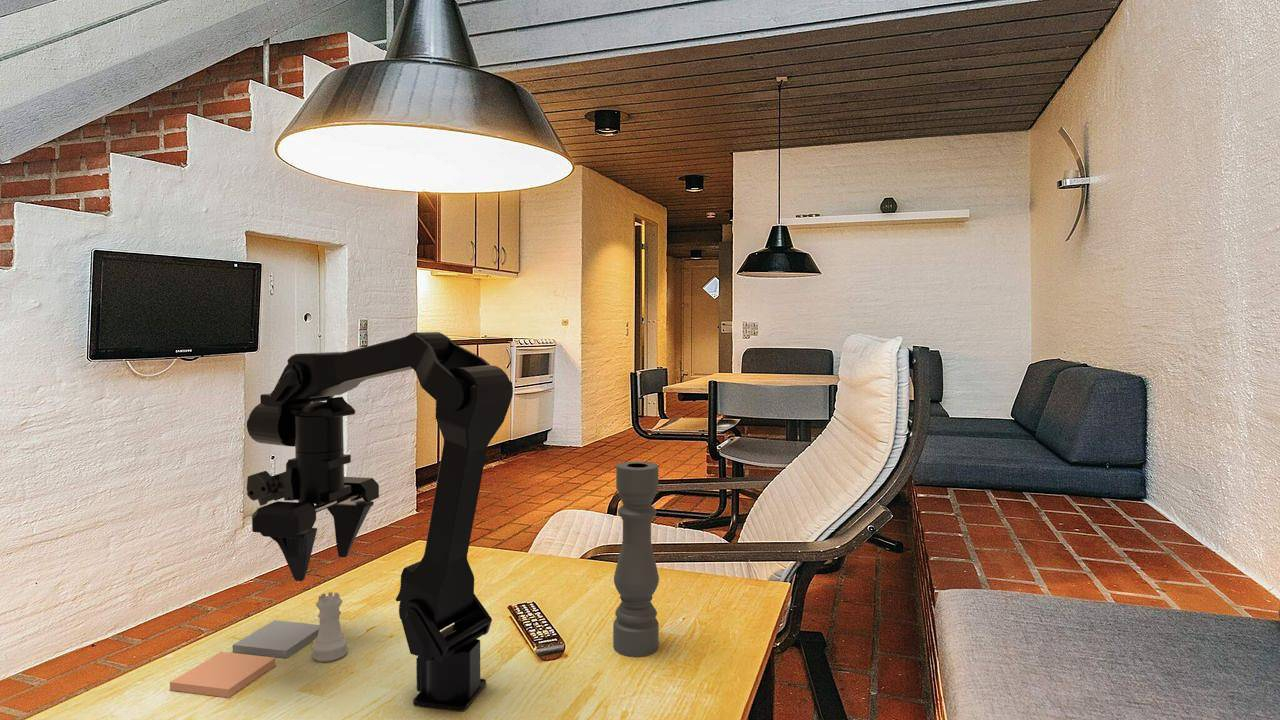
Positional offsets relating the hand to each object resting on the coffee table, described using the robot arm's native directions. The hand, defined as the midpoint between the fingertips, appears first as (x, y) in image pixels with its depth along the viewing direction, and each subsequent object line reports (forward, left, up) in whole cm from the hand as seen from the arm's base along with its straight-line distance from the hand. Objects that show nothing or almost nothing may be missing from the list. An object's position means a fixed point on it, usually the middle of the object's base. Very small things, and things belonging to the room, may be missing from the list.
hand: (322, 568), depth 94 cm
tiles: (+9, +2, -12) cm, 15 cm away
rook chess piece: (0, -1, -12) cm, 12 cm away
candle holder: (-39, -12, -12) cm, 43 cm away
